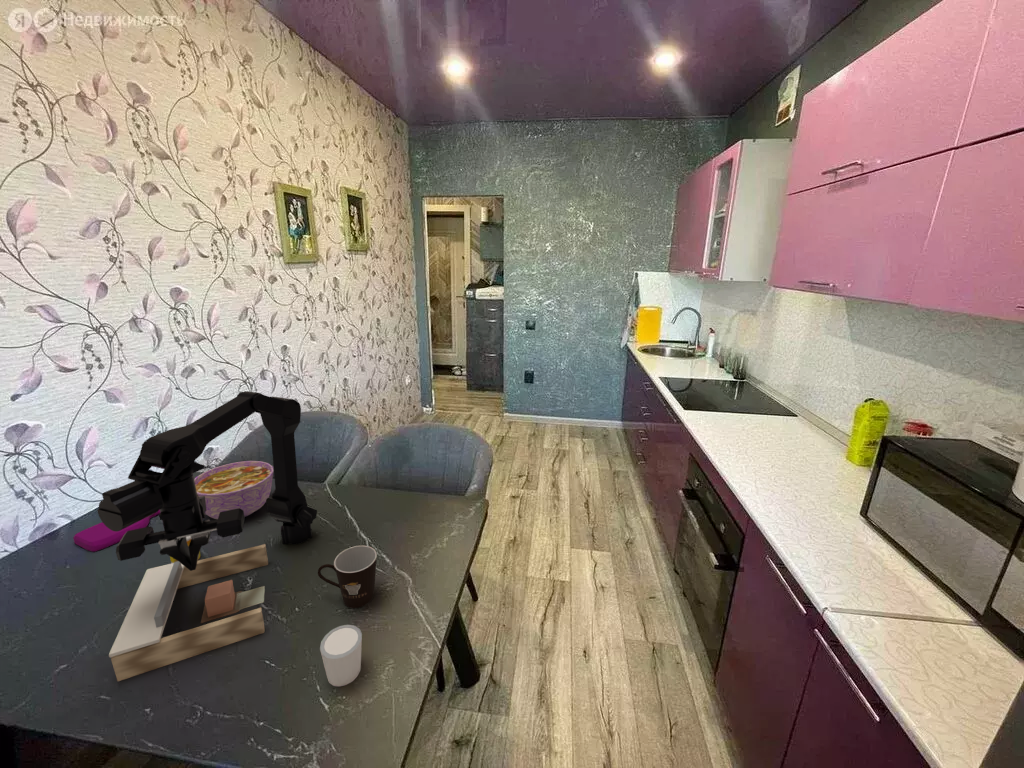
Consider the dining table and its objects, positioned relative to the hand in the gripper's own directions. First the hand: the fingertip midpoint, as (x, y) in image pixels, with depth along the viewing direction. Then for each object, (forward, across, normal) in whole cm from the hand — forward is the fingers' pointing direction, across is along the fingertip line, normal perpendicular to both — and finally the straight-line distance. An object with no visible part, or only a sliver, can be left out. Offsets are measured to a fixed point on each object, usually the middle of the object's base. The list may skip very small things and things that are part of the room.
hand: (193, 568), depth 80 cm
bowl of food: (+12, -3, -40) cm, 42 cm away
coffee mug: (+12, -28, +8) cm, 31 cm away
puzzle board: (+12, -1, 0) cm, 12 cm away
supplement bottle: (+12, +6, -20) cm, 24 cm away
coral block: (+10, -3, 0) cm, 11 cm away
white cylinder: (+12, -24, +26) cm, 37 cm away
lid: (+5, +7, 0) cm, 9 cm away
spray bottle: (+12, +21, -46) cm, 52 cm away
